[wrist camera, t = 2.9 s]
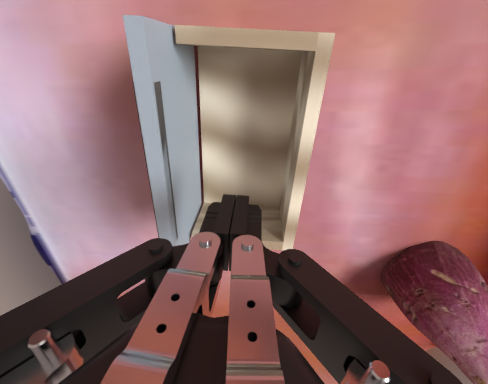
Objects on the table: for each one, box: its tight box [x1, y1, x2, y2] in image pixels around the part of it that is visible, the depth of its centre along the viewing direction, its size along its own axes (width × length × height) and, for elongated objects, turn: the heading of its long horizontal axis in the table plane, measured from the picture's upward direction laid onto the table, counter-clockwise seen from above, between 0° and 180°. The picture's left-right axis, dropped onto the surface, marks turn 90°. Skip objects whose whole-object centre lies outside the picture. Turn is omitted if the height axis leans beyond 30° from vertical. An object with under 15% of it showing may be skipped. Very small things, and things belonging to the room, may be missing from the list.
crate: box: [175, 25, 335, 250], centre depth 23 cm, size 18×10×7 cm, turn 177°
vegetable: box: [381, 241, 488, 384], centre depth 29 cm, size 10×10×15 cm
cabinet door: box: [123, 15, 202, 246], centre depth 21 cm, size 18×1×10 cm, turn 177°
